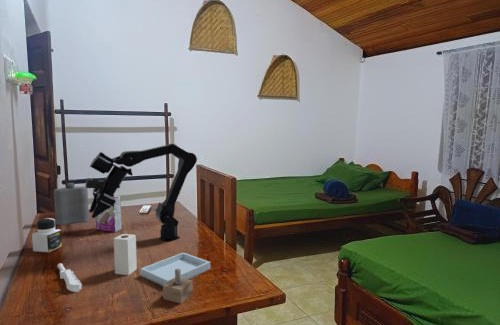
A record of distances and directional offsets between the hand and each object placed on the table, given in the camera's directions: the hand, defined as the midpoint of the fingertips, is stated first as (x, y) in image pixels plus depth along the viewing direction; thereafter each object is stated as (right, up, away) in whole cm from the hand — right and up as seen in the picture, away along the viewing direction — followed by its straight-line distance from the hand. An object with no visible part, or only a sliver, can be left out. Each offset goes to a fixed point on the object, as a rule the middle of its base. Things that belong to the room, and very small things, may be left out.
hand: (91, 214), depth 129 cm
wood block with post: (+40, -18, -33) cm, 55 cm away
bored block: (+19, -17, -16) cm, 30 cm away
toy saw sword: (+3, -18, -22) cm, 28 cm away
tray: (+36, -17, -17) cm, 43 cm away
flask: (-29, -10, +41) cm, 51 cm away
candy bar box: (-5, -12, +29) cm, 31 cm away
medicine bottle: (-19, -14, +4) cm, 25 cm away
